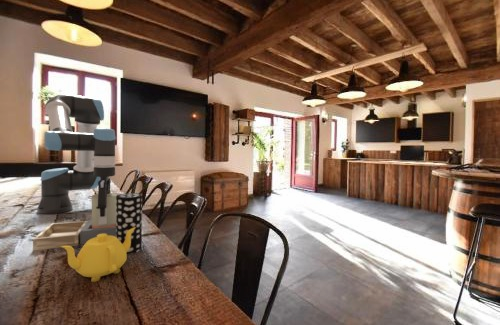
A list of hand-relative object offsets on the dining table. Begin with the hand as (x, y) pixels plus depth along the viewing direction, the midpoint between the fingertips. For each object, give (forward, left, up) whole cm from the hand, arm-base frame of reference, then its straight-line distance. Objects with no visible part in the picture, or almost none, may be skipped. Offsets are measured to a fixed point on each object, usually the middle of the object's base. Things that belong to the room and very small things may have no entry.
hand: (104, 220), depth 98 cm
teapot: (+33, +4, -7) cm, 34 cm away
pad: (0, 0, -3) cm, 3 cm away
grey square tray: (0, 0, -6) cm, 6 cm away
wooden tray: (-1, -14, -6) cm, 15 cm away
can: (0, 0, -1) cm, 1 cm away
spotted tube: (+18, +10, -7) cm, 22 cm away
